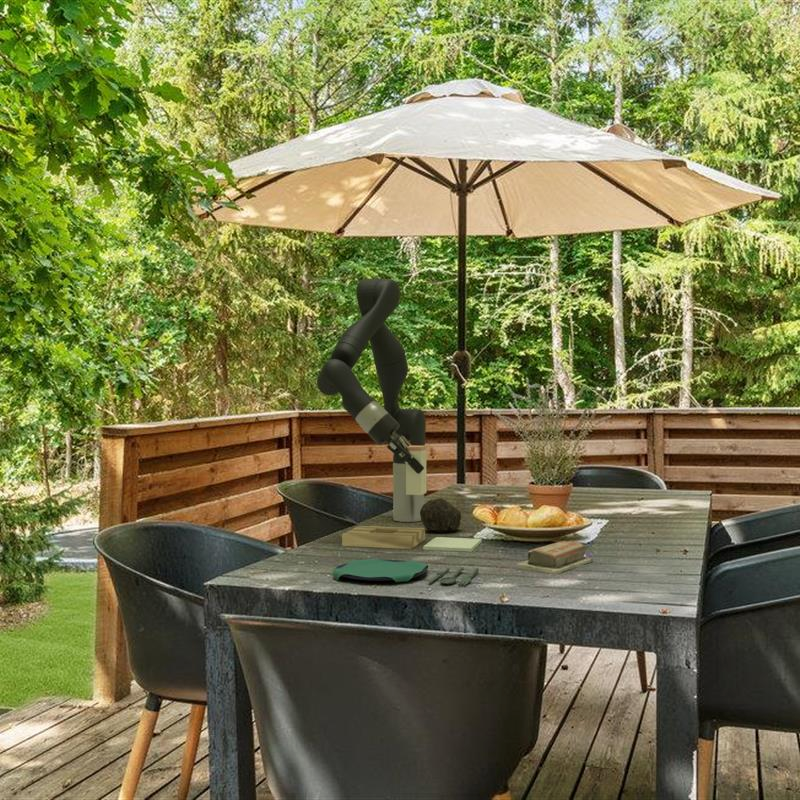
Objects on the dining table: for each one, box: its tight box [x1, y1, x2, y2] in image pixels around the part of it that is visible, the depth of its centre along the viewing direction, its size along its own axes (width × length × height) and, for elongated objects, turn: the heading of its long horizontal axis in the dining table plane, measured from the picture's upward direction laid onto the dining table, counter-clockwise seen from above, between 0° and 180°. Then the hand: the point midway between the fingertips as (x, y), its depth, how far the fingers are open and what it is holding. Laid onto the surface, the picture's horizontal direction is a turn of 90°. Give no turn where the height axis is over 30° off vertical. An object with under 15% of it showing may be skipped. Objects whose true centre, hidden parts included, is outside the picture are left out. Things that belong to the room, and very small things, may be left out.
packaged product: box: [516, 540, 594, 575], centre depth 206 cm, size 18×5×10 cm
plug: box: [406, 445, 427, 495], centre depth 233 cm, size 5×4×12 cm
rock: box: [420, 497, 462, 533], centre depth 254 cm, size 10×11×10 cm
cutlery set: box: [332, 558, 480, 586], centre depth 194 cm, size 20×30×2 cm, turn 72°
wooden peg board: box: [341, 525, 426, 550], centre depth 236 cm, size 14×18×3 cm
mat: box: [422, 536, 482, 553], centre depth 231 cm, size 14×12×1 cm
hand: (423, 469), depth 233 cm, fingers closed on plug, 5 cm apart
